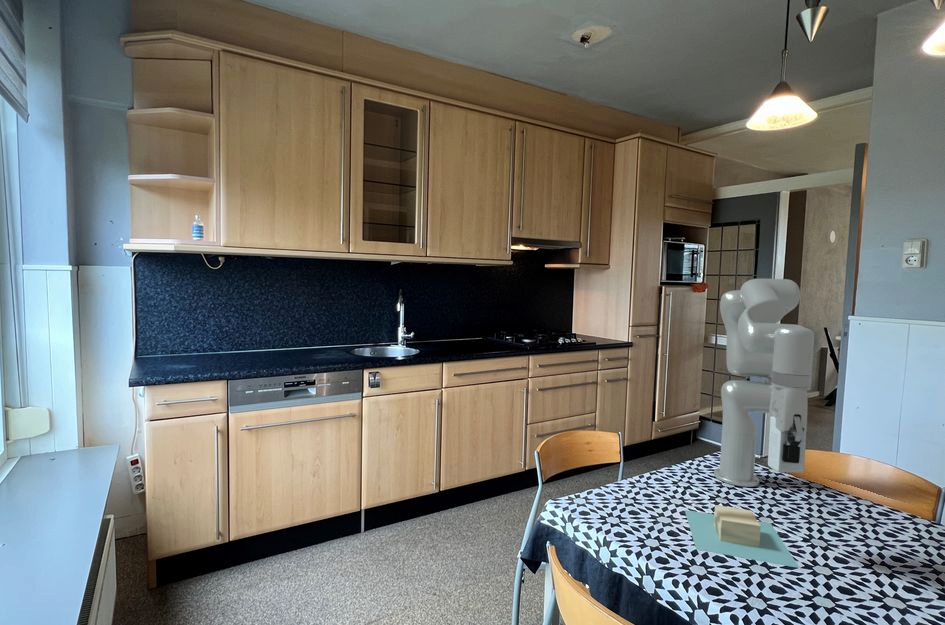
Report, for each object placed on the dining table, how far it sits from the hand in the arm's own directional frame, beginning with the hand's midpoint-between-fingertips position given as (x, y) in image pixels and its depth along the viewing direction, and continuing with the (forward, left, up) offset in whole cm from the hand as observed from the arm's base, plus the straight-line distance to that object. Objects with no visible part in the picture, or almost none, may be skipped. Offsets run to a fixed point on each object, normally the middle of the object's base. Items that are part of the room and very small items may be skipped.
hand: (785, 456), depth 109 cm
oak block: (+1, -10, -20) cm, 22 cm away
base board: (+1, -10, -21) cm, 23 cm away
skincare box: (0, 0, -3) cm, 3 cm away
